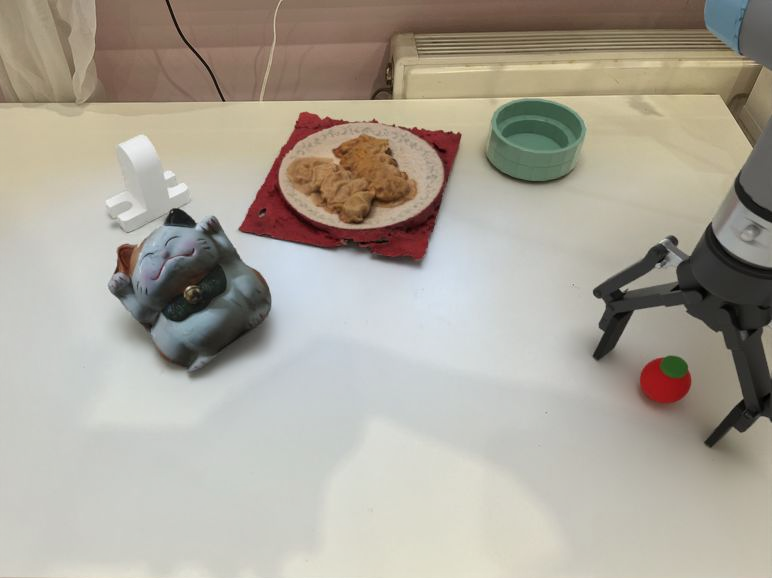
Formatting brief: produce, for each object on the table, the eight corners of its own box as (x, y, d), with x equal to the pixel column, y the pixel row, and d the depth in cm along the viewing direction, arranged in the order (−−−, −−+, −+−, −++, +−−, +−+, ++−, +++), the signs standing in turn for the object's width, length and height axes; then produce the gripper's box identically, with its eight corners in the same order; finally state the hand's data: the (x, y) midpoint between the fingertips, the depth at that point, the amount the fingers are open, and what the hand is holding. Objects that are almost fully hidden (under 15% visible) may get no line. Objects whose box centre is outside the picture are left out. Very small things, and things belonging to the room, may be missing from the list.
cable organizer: (192, 200, 91) (178, 136, 84) (127, 233, 88) (106, 170, 80) (171, 181, 94) (156, 117, 86) (107, 212, 91) (85, 148, 83)
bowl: (568, 130, 98) (577, 98, 94) (582, 185, 91) (594, 153, 87) (481, 128, 99) (487, 97, 95) (489, 183, 91) (496, 152, 87)
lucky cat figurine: (165, 391, 73) (86, 288, 65) (159, 340, 83) (91, 246, 76) (288, 322, 72) (222, 211, 65) (267, 279, 83) (208, 179, 75)
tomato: (674, 375, 72) (693, 347, 68) (685, 412, 69) (706, 385, 65) (629, 374, 72) (645, 345, 68) (638, 411, 69) (656, 383, 65)
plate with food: (460, 144, 97) (464, 123, 94) (422, 266, 82) (424, 245, 79) (301, 120, 102) (300, 99, 100) (237, 230, 87) (234, 209, 85)
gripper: (598, 180, 58) (538, 336, 75) (900, 364, 46) (747, 502, 63) (653, 146, 61) (583, 304, 78) (952, 311, 49) (792, 457, 65)
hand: (656, 392), depth 70 cm, fingers open, 13 cm apart
